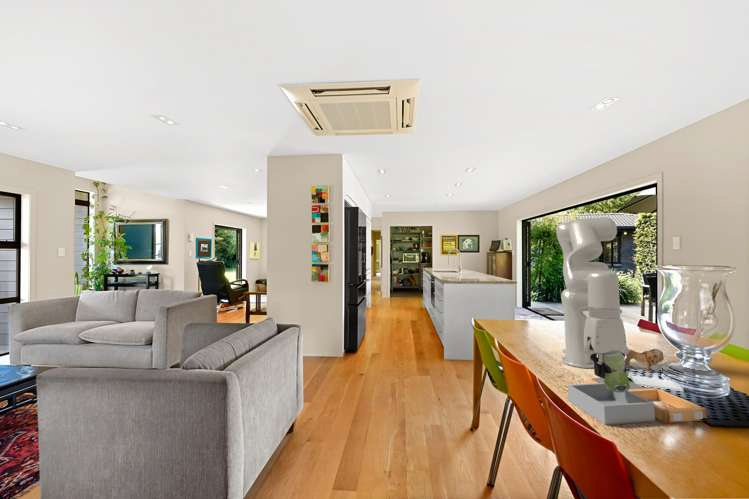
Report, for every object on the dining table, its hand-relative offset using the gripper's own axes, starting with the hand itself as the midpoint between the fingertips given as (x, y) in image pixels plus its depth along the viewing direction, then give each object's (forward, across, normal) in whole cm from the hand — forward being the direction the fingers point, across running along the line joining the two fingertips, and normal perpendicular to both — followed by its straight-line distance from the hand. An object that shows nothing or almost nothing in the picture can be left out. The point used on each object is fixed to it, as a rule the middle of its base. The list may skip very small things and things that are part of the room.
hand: (607, 375), depth 93 cm
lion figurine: (+10, -40, -30) cm, 50 cm away
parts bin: (+10, 0, 0) cm, 10 cm away
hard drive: (+11, -30, -15) cm, 36 cm away
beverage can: (+4, -3, +1) cm, 5 cm away
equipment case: (+10, -16, -6) cm, 20 cm away
